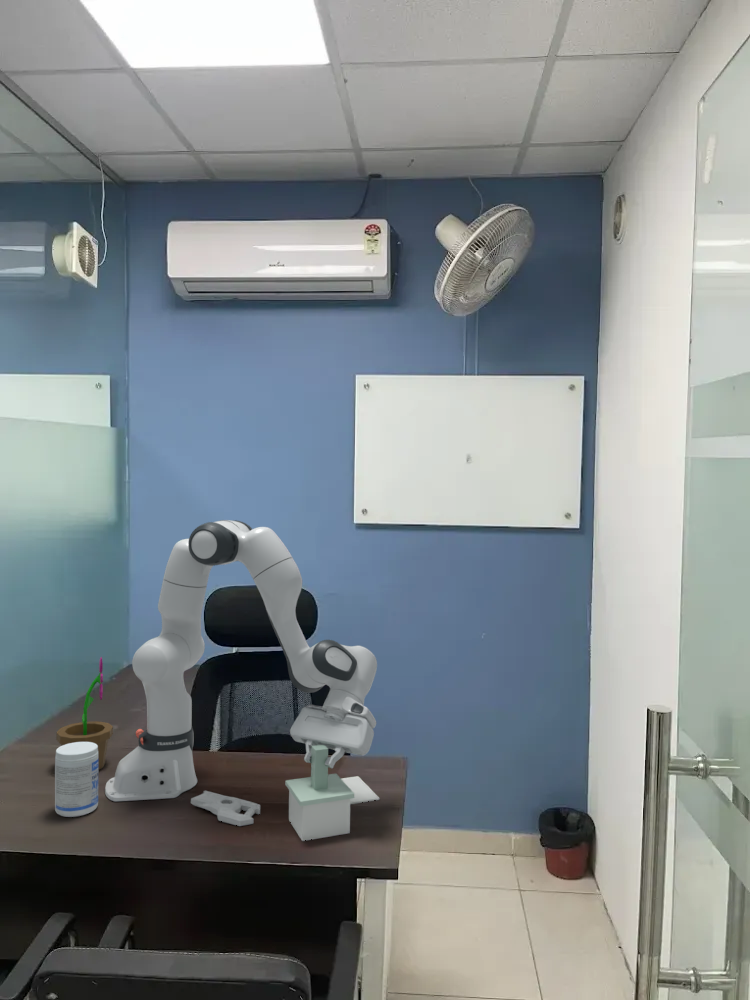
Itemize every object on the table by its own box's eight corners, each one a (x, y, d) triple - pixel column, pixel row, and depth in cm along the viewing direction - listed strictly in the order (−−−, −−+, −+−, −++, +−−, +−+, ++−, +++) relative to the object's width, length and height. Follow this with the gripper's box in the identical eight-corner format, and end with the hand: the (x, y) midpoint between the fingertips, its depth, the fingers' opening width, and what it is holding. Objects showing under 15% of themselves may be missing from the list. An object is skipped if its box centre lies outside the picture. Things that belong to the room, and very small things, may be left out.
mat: (321, 808, 176) (321, 807, 176) (304, 785, 190) (304, 783, 190) (379, 799, 182) (379, 798, 182) (358, 777, 196) (358, 776, 196)
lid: (300, 809, 159) (301, 760, 159) (285, 788, 170) (286, 741, 170) (354, 801, 163) (354, 753, 163) (336, 780, 175) (336, 735, 175)
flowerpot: (113, 772, 196) (115, 660, 196) (55, 780, 191) (56, 665, 191) (111, 754, 210) (112, 649, 209) (56, 761, 204) (57, 653, 204)
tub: (302, 841, 160) (302, 804, 160) (288, 819, 170) (289, 785, 170) (349, 833, 164) (350, 797, 164) (333, 812, 174) (334, 779, 174)
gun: (181, 799, 172) (206, 784, 181) (180, 814, 172) (205, 798, 181) (247, 818, 165) (270, 801, 174) (246, 833, 165) (269, 815, 174)
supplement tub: (102, 812, 172) (103, 750, 172) (59, 822, 167) (59, 757, 167) (92, 798, 180) (93, 738, 180) (51, 806, 175) (51, 745, 175)
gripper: (300, 696, 178) (275, 748, 169) (373, 709, 168) (351, 766, 159) (310, 710, 182) (286, 762, 173) (382, 724, 172) (361, 779, 163)
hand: (318, 764), depth 166 cm, fingers closed on lid, 4 cm apart
